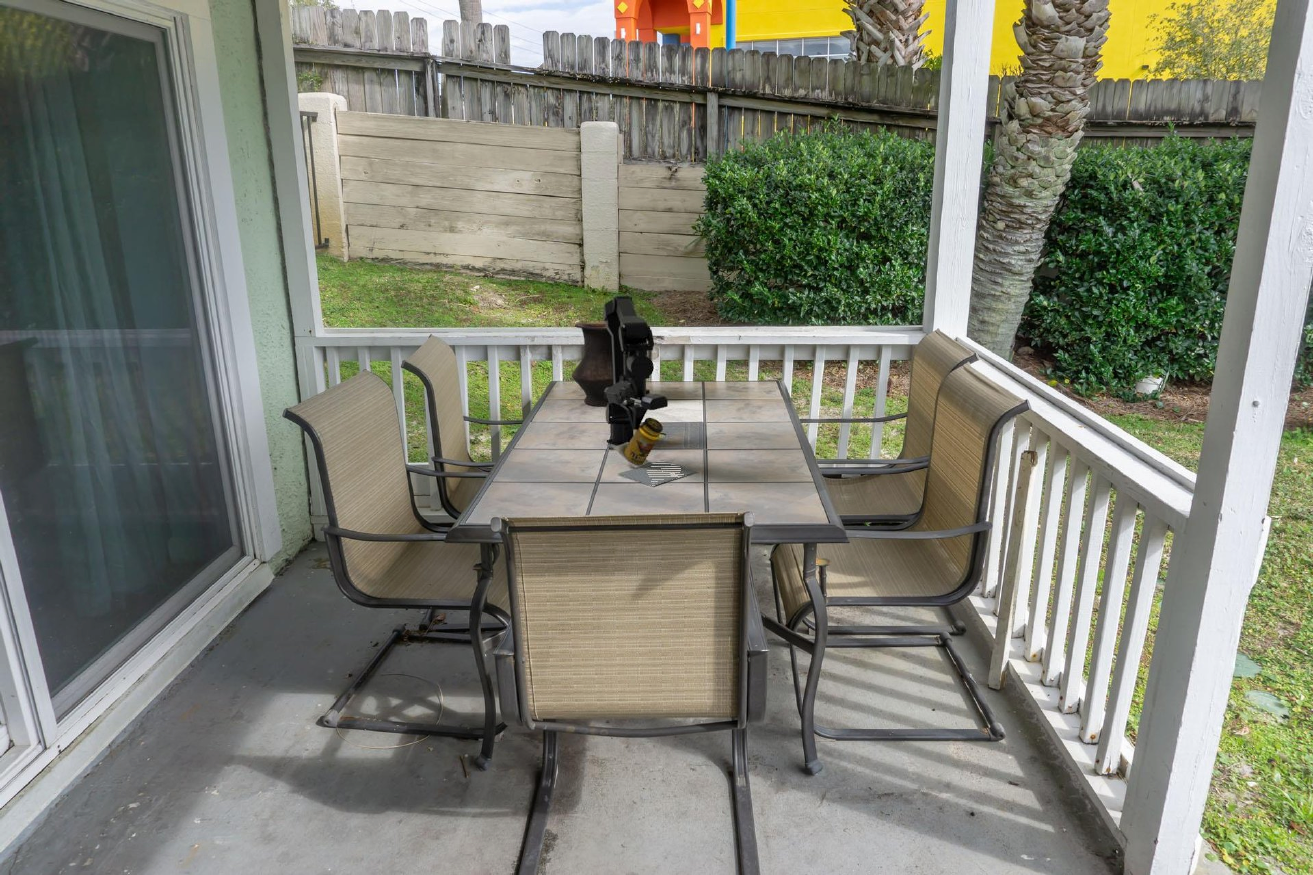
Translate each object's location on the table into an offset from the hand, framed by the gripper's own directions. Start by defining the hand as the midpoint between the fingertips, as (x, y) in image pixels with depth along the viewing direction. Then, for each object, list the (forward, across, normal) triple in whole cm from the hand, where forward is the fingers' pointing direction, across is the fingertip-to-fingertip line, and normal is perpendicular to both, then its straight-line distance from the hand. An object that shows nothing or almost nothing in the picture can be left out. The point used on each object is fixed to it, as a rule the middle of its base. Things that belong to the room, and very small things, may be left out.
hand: (635, 429), depth 232 cm
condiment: (+8, -3, 0) cm, 8 cm away
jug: (+10, -57, +38) cm, 69 cm away
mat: (+10, +8, 0) cm, 13 cm away
